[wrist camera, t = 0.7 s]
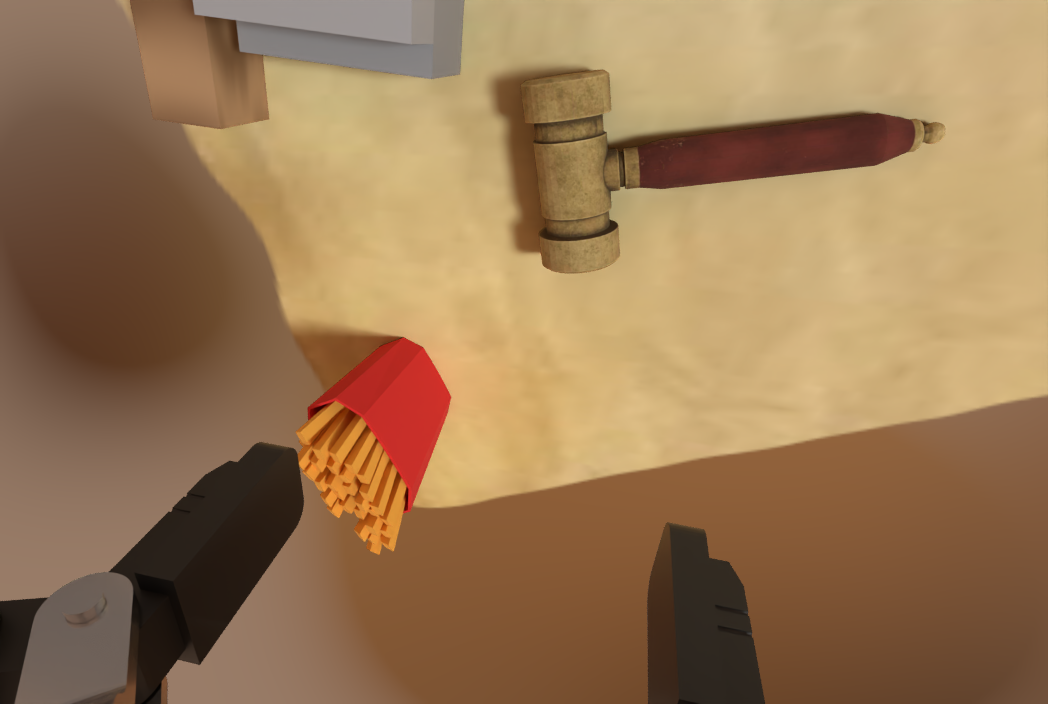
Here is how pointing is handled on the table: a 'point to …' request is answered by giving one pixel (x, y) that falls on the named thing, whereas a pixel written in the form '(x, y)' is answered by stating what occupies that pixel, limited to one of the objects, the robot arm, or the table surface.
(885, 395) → the table surface
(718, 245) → the table surface
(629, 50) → the table surface
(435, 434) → the french fries
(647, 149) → the gavel
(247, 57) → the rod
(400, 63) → the steps
